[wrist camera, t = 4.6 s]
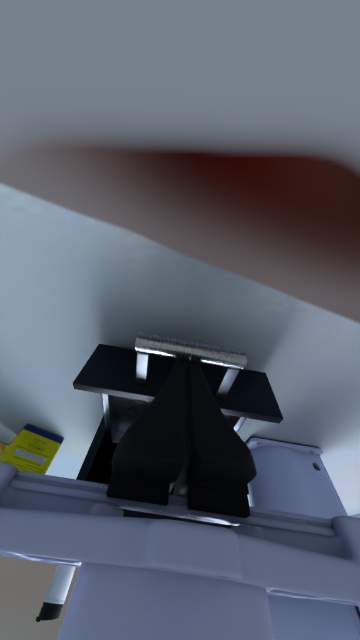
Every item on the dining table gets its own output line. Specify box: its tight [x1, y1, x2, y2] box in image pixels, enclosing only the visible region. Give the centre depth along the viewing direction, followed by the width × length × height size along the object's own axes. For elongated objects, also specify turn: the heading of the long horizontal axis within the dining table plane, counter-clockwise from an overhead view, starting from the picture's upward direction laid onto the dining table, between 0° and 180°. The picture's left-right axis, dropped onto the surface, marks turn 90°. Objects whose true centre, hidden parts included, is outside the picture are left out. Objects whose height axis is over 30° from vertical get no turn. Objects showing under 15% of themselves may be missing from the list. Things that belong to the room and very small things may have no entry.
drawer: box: [73, 332, 283, 445], centre depth 17 cm, size 15×18×4 cm
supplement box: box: [0, 424, 64, 475], centre depth 25 cm, size 6×6×11 cm
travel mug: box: [36, 564, 75, 622], centre depth 65 cm, size 6×7×20 cm
